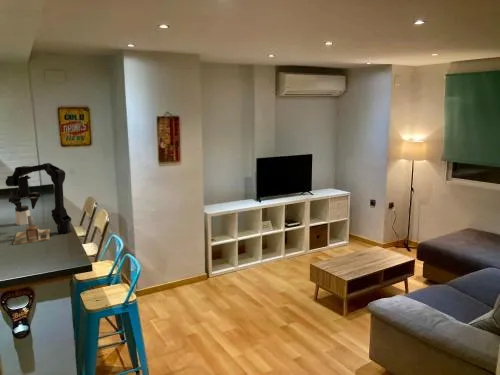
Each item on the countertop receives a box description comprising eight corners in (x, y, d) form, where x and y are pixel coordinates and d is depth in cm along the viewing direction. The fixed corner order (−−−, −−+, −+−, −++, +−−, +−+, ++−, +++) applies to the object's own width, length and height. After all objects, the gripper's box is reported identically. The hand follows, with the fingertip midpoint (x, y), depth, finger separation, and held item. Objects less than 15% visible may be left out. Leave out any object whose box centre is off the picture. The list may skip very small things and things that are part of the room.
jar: (14, 224, 286) (12, 207, 284) (25, 221, 293) (23, 205, 291) (21, 225, 282) (19, 208, 280) (33, 222, 289) (31, 206, 287)
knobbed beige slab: (39, 230, 264) (37, 214, 263) (37, 238, 246) (35, 221, 245) (28, 231, 262) (26, 215, 260) (26, 239, 244) (24, 222, 242)
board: (49, 230, 268) (49, 228, 268) (49, 240, 246) (48, 238, 246) (17, 234, 261) (17, 232, 261) (13, 244, 238) (13, 243, 238)
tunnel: (39, 235, 252) (37, 225, 251) (38, 239, 244) (37, 228, 243) (28, 237, 249) (26, 226, 248) (27, 240, 242) (25, 229, 241)
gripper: (27, 183, 273) (30, 206, 276) (0, 188, 256) (4, 213, 259) (39, 184, 269) (42, 207, 271) (13, 189, 252) (16, 214, 254)
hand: (26, 210), depth 264 cm, fingers open, 9 cm apart
